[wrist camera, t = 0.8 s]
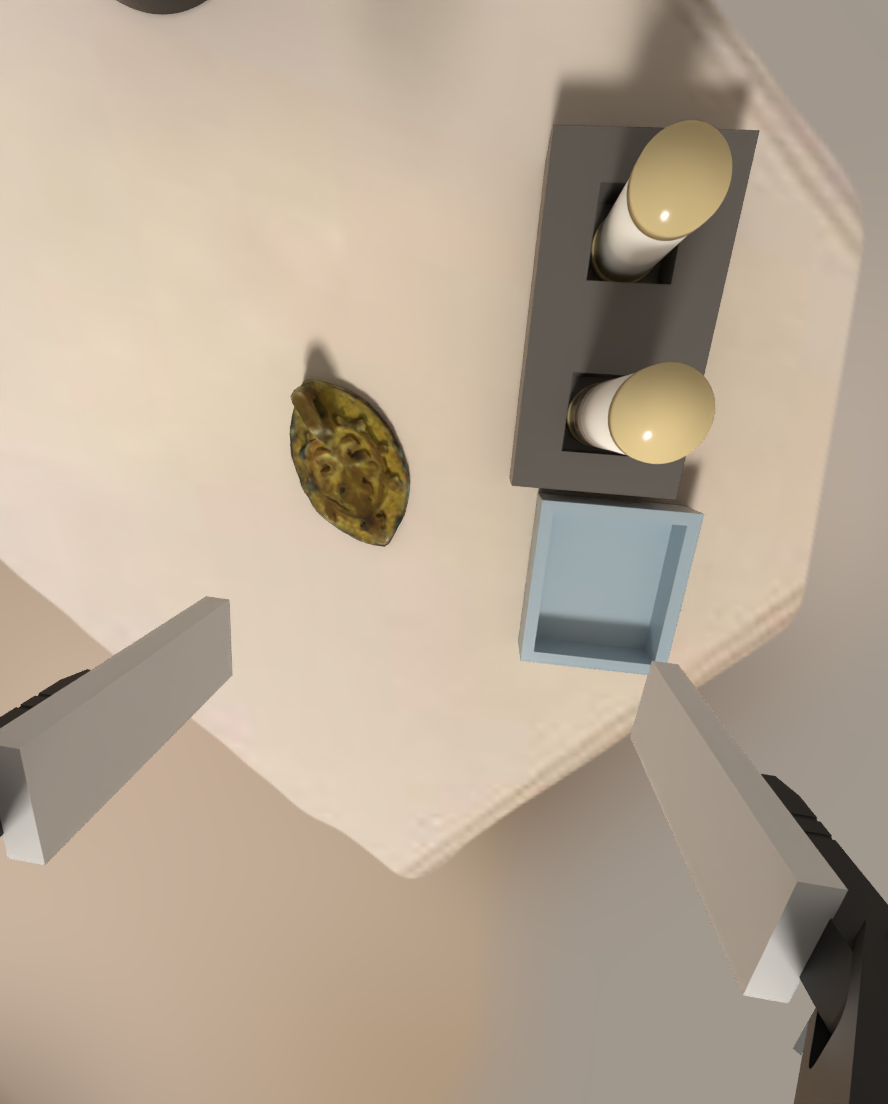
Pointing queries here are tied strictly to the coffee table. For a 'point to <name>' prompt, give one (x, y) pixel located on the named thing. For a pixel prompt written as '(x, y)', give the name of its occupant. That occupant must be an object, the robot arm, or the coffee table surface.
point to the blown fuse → (645, 413)
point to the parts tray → (605, 582)
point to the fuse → (662, 200)
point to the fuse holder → (610, 309)
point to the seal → (348, 462)
